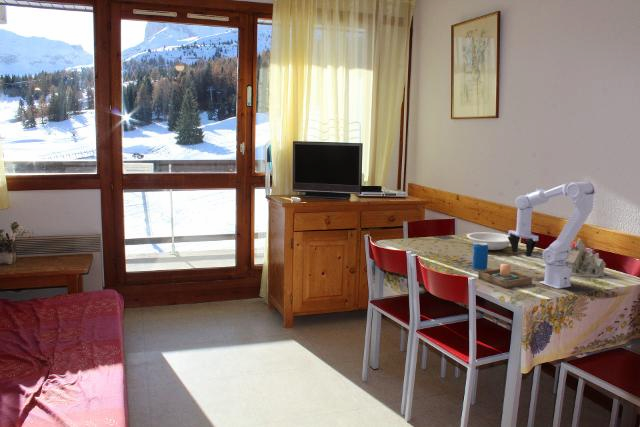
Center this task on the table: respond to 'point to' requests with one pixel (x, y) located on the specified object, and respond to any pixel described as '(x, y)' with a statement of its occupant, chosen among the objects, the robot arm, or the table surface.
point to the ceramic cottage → (584, 262)
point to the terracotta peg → (505, 270)
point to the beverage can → (480, 256)
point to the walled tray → (511, 282)
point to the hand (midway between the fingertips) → (521, 254)
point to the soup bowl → (490, 239)
